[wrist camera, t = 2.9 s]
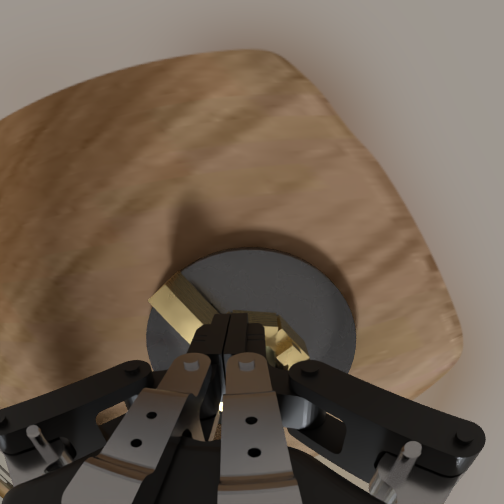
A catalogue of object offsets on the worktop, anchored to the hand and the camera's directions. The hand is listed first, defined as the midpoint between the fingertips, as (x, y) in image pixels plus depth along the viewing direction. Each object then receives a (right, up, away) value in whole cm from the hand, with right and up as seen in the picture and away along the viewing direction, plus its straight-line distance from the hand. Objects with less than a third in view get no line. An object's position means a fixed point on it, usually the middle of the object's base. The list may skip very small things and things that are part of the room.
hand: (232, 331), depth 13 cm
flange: (+1, -7, +16) cm, 18 cm away
